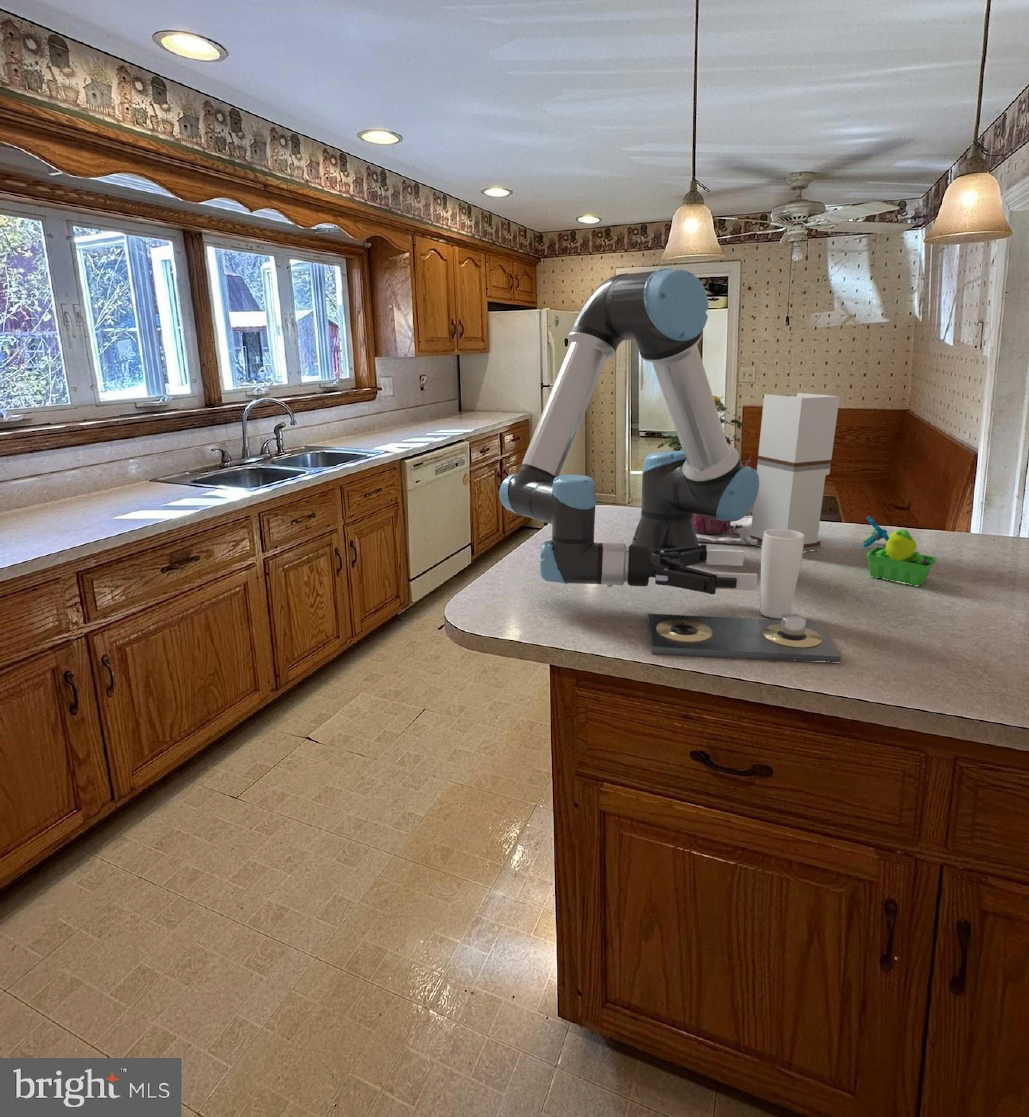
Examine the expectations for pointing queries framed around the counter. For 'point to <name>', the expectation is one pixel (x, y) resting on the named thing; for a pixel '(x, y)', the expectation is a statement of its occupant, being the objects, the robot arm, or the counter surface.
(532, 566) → the counter surface
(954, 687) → the counter surface
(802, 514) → the white banded pillar
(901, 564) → the fruit basket
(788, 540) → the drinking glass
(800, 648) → the bolt plate
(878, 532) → the blue plastic t-shaped piece
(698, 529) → the potted flower
